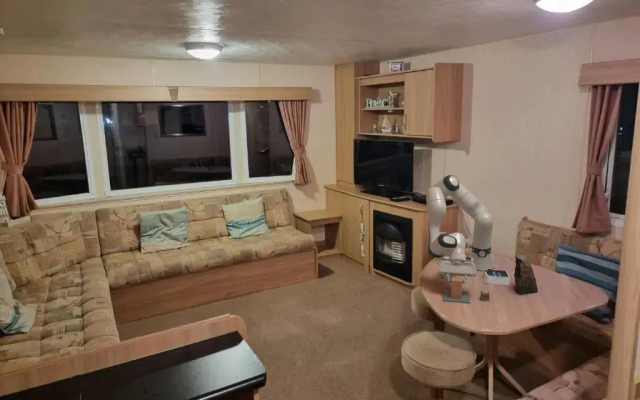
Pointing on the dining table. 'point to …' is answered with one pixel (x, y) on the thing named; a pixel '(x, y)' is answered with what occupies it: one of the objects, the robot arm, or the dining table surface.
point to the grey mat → (448, 298)
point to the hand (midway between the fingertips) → (456, 282)
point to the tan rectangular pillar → (456, 287)
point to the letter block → (484, 295)
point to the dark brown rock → (524, 276)
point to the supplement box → (449, 275)
